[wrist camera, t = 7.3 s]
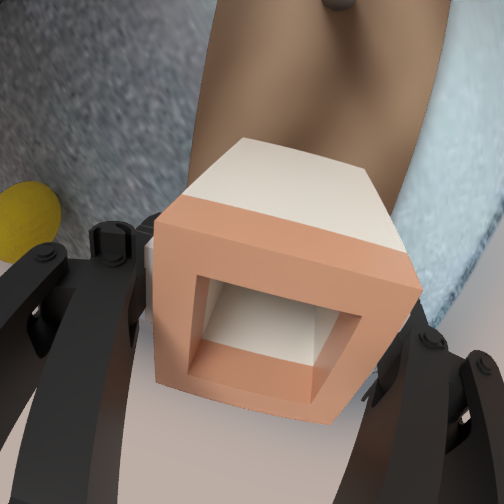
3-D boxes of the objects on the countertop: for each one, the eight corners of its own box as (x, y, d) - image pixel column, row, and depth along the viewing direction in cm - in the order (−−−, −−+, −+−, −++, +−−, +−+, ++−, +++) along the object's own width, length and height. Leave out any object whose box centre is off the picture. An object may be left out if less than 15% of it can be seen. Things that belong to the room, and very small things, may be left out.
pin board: (189, 213, 21) (141, 274, 15) (242, -69, 11) (205, -127, 5) (365, 258, 20) (381, 336, 14) (446, -16, 10) (505, -49, 4)
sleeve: (224, 243, 17) (155, 382, 9) (243, 137, 14) (154, 220, 6) (328, 269, 16) (329, 425, 9) (364, 168, 14) (422, 290, 6)
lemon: (25, 191, 23) (-40, 235, 16) (52, 153, 20) (-25, 194, 14) (59, 239, 24) (1, 293, 18) (91, 208, 22) (22, 263, 15)
